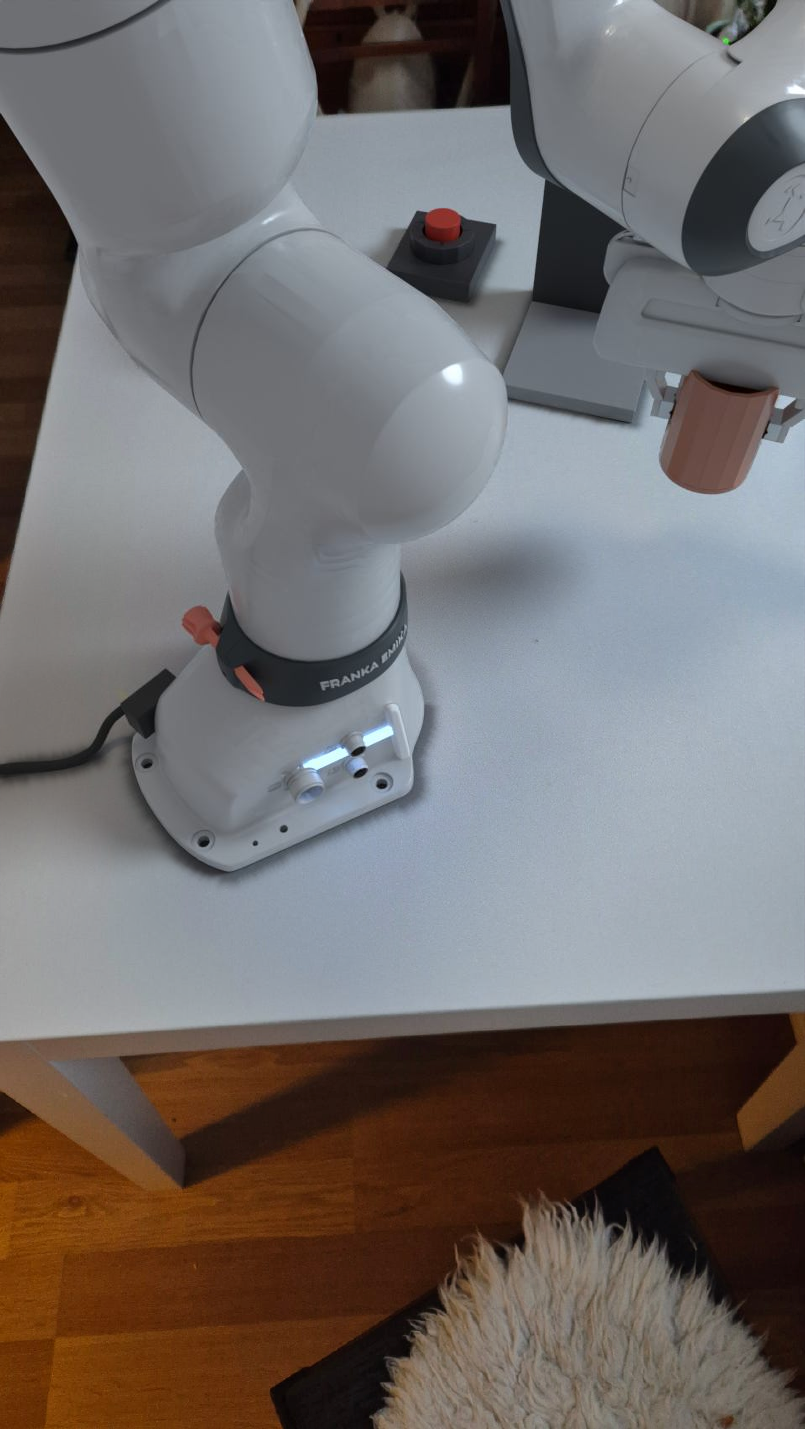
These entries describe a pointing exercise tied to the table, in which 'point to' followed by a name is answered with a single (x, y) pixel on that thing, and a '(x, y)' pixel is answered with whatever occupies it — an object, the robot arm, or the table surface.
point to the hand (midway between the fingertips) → (717, 424)
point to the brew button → (442, 225)
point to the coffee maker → (570, 317)
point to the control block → (443, 259)
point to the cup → (714, 434)
